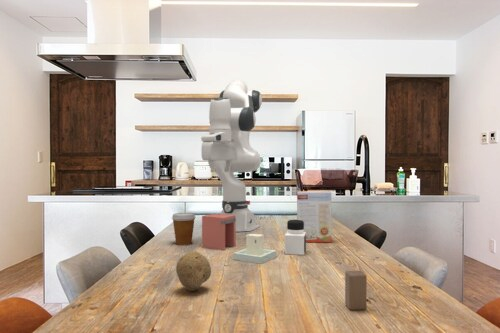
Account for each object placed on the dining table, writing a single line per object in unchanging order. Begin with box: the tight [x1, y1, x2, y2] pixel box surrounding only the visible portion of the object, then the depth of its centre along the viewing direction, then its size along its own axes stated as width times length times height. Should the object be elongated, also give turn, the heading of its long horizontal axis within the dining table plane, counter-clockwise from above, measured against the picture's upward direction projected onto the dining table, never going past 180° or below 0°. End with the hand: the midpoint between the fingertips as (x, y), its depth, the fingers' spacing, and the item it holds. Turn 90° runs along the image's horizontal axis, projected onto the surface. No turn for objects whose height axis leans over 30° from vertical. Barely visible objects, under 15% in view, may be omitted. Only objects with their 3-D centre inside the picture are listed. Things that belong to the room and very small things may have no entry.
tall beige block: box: [245, 233, 265, 256], centre depth 141 cm, size 4×5×7 cm
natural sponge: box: [175, 251, 212, 292], centre depth 107 cm, size 9×9×10 cm
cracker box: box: [296, 190, 333, 243], centre depth 171 cm, size 14×6×21 cm, turn 84°
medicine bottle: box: [284, 218, 307, 256], centre depth 150 cm, size 7×7×12 cm
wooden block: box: [344, 270, 368, 311], centre depth 94 cm, size 4×4×8 cm
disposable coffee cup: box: [171, 212, 196, 246], centre depth 167 cm, size 10×10×12 cm
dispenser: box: [201, 213, 237, 251], centre depth 160 cm, size 9×10×12 cm
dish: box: [232, 248, 277, 265], centre depth 141 cm, size 11×11×2 cm
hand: (220, 172), depth 164 cm, fingers open, 8 cm apart
